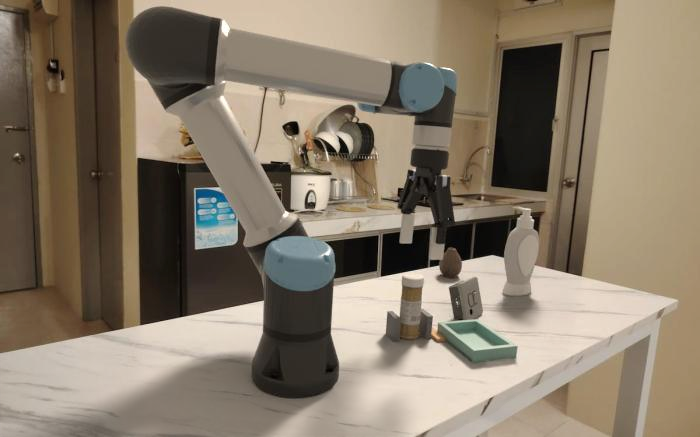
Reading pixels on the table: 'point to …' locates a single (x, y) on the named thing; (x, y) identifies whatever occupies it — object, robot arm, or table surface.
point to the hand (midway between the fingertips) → (419, 250)
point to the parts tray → (477, 340)
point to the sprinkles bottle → (411, 305)
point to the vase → (450, 263)
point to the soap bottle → (521, 255)
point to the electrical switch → (466, 299)
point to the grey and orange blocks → (424, 326)
